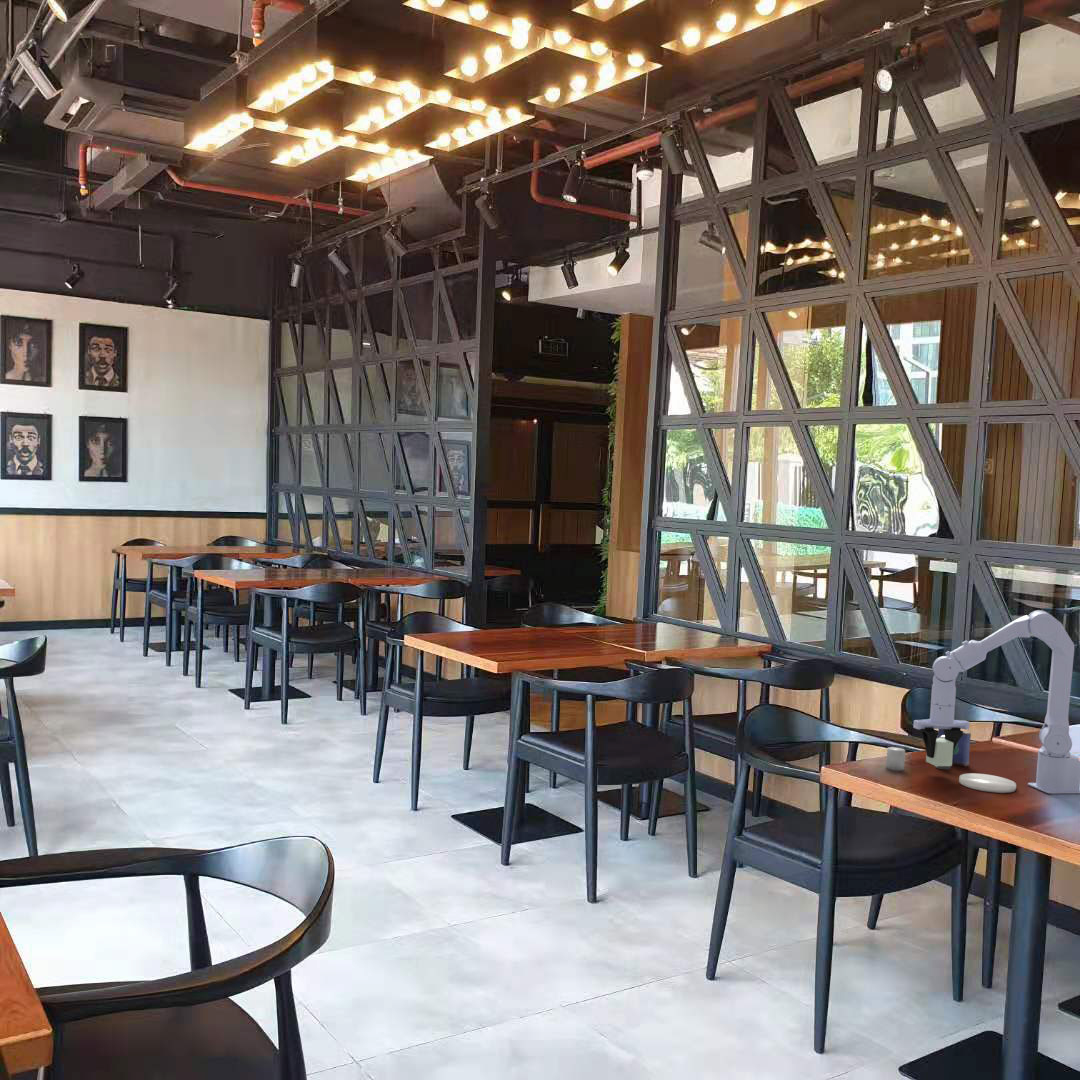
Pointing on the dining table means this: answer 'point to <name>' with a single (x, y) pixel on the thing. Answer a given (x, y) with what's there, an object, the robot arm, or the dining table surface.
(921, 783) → the dining table surface
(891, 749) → the white rounded domed part
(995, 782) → the plate
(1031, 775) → the dining table surface
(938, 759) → the sage block
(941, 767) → the salt shaker
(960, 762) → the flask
